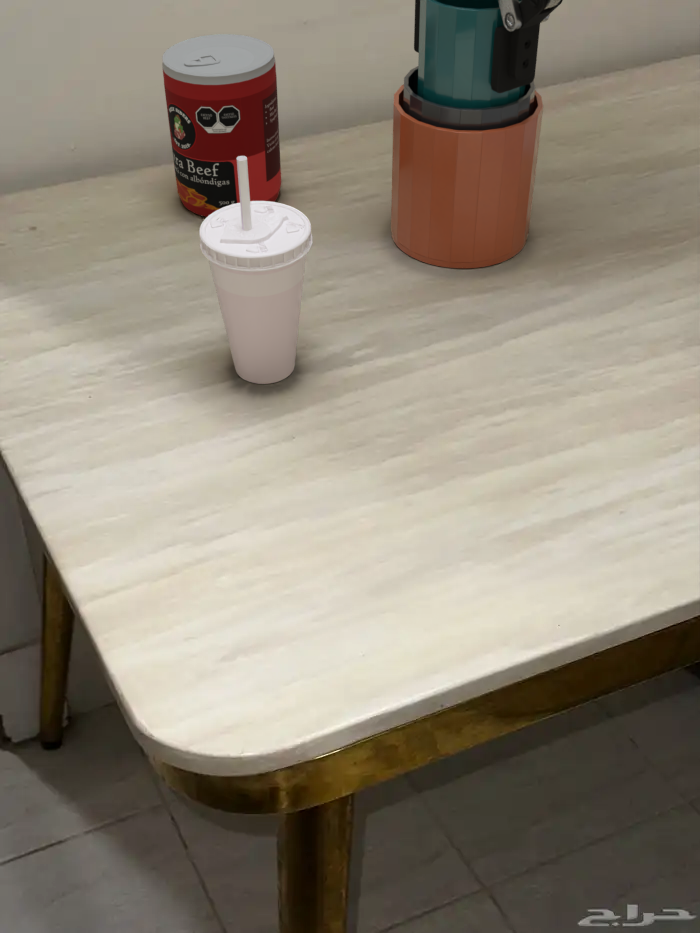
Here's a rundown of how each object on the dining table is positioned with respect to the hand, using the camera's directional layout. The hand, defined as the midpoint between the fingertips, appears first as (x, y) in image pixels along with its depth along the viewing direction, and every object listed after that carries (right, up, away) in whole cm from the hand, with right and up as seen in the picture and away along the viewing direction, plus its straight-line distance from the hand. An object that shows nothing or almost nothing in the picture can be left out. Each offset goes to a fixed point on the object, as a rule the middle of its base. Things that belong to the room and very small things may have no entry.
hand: (472, 65), depth 72 cm
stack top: (0, -9, +8) cm, 12 cm away
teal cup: (0, -3, +2) cm, 4 cm away
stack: (0, -9, +8) cm, 12 cm away
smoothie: (-13, -20, -4) cm, 24 cm away
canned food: (-17, -6, +13) cm, 22 cm away
